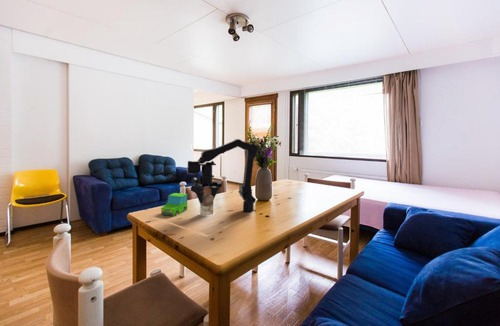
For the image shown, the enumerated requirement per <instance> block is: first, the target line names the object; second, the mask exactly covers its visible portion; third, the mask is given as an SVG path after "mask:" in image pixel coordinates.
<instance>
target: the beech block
mask: <svg viewBox="0 0 500 326" xmlns="http://www.w3.org/2000/svg"><path fill="white" fill-rule="evenodd" d="M199 209H200V210H199V211H200V212H199V213H200V214H202V215H206V216H208V215H210V216H212V215H211V214H213V213H214V204H213V205H211V206H208V207H206V206H202V205H200V204H199ZM202 215H201V216H202ZM213 215H214V214H213ZM206 216H205V217H206ZM208 217H209V216H208Z"/></svg>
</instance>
